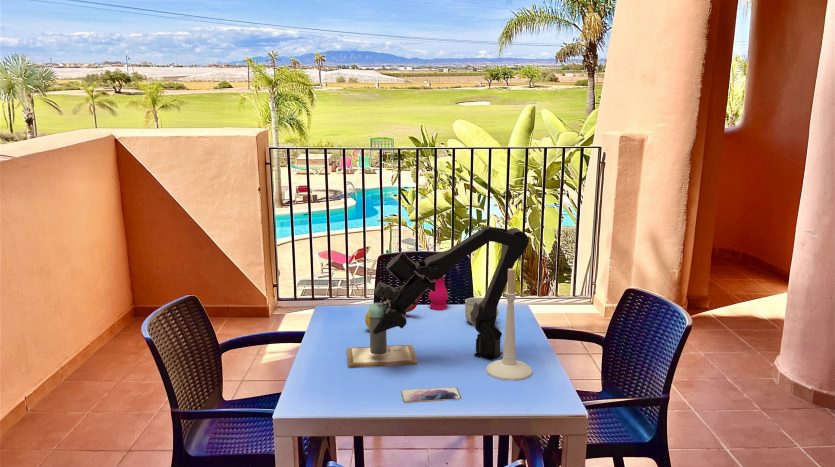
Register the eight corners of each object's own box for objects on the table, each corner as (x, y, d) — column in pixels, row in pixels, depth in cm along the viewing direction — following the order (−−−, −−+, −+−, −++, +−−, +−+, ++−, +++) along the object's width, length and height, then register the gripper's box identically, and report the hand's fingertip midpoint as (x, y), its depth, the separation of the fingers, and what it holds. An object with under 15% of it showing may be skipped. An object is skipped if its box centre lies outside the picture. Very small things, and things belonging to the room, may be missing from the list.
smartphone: (462, 398, 168) (403, 401, 166) (462, 401, 168) (403, 404, 166) (457, 386, 175) (400, 389, 173) (457, 389, 175) (400, 392, 173)
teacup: (459, 320, 231) (459, 298, 230) (486, 316, 236) (486, 294, 234) (479, 332, 219) (479, 309, 217) (507, 327, 223) (507, 305, 222)
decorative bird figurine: (419, 320, 231) (419, 292, 229) (377, 312, 240) (377, 285, 238) (423, 318, 233) (423, 291, 231) (382, 310, 242) (381, 284, 240)
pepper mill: (448, 305, 249) (449, 253, 245) (447, 311, 242) (448, 257, 238) (429, 304, 249) (429, 252, 246) (428, 310, 242) (428, 257, 239)
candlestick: (496, 383, 178) (498, 274, 173) (479, 365, 191) (481, 263, 185) (539, 377, 182) (543, 271, 176) (520, 361, 194) (523, 260, 188)
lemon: (379, 334, 217) (379, 310, 216) (363, 333, 218) (362, 309, 217) (383, 328, 222) (383, 305, 221) (367, 327, 223) (367, 304, 222)
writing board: (411, 347, 205) (411, 344, 205) (417, 364, 191) (417, 361, 191) (346, 350, 202) (346, 347, 202) (348, 367, 189) (348, 364, 189)
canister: (390, 351, 193) (389, 305, 190) (376, 355, 190) (375, 308, 187) (380, 347, 197) (380, 301, 194) (366, 350, 194) (365, 304, 191)
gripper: (388, 265, 199) (352, 302, 199) (394, 281, 180) (354, 322, 181) (414, 290, 201) (378, 326, 202) (422, 308, 183) (383, 348, 184)
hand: (373, 330), depth 192 cm, fingers closed on canister, 5 cm apart
